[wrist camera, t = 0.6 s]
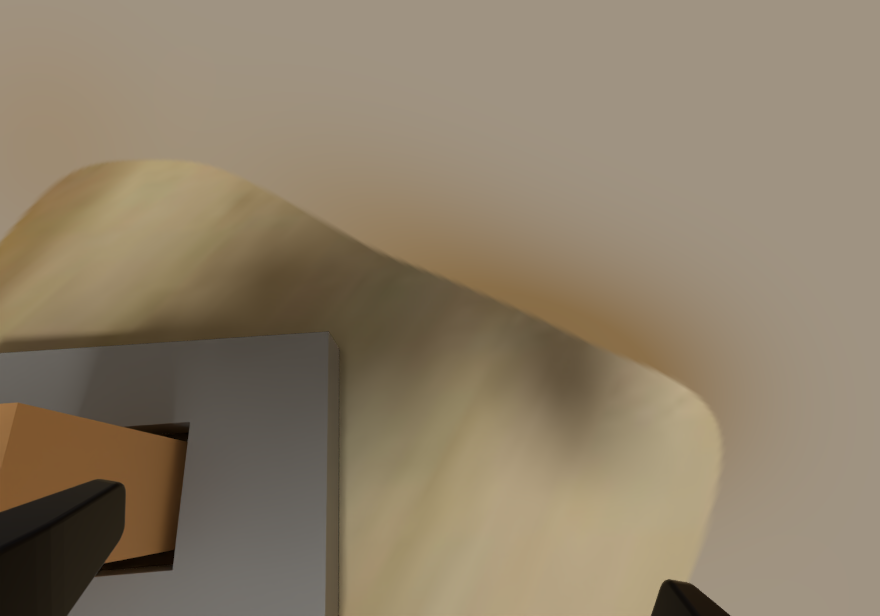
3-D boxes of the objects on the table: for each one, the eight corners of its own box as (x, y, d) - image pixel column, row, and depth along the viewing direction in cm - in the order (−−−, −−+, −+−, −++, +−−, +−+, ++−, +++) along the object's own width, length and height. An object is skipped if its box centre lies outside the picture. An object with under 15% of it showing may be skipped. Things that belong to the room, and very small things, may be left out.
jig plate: (338, 649, 18) (324, 671, 16) (-99, 690, 18) (-181, 719, 15) (339, 348, 23) (328, 331, 20) (-10, 372, 22) (-62, 357, 20)
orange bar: (191, 546, 19) (-30, 589, 10) (90, 554, 19) (-228, 606, 10) (201, 445, 21) (17, 402, 12) (108, 452, 21) (-154, 414, 12)
